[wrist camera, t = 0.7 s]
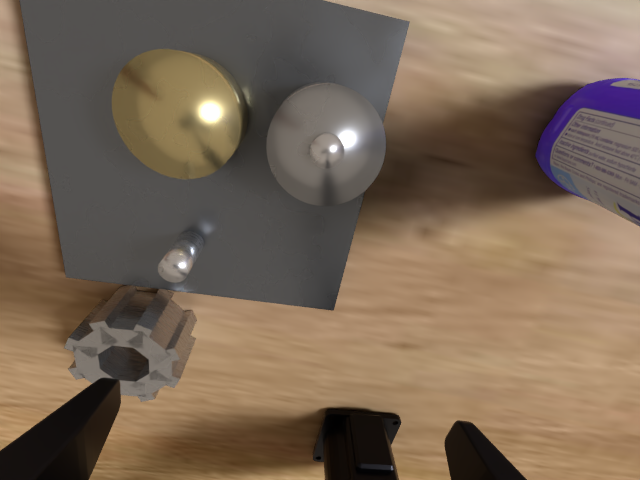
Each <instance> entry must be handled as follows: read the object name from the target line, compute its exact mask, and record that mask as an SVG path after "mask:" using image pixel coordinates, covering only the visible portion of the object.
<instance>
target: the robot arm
mask: <svg viewBox="0 0 640 480" xmlns="http://www.w3.org/2000/svg"><path fill="white" fill-rule="evenodd" d="M120 404H121V391H120V381H119V380H118V379H114V378H106V377H104V378H100V379H98V380H97V381H95V382H94V383H93V384H91V385H90V386H88V387H87V388H86V389H84V390H83V391H82V392H80V393H79V394H78V395H76V396H75V397H73V398H72V399H71V400H69V401H68V402H67V403H65V404H64V405H62V406H61V407H60V408H58V409H57V410H56V411H54V412H53V413H51V414H50V415H49V416H47V417H46V418H45V419H43V420H42V421H41V422H39V423H38V424H36V425H35V426H34V427H32V428H31V429H30V430H28V431H27V432H25V433H24V434H23V435H21V436H20V437H19V438H17V439H16V440H14V441H13V442H12V443H10V444H9V445H8V446H6V447H5V448H4V449H2V450H1V451H0V480H89V478H90V476H91V473H92V471H93V469H94V467H95V464H96V462H97V460H98V457H99V455H100V453H101V450H102V448H103V446H104V444H105V441H106V439H107V437H108V434H109V432H110V430H111V427H112V425H113V423H114V420H115V418H116V416H117V413H118V411H119V408H120ZM400 425H401V420H400V417H399V416H398V415H392V414H381V413H369V412H357V411H345V410H333V409H330V410H327V411H326V412H325V414H324V417H323V421H322V424H321V427H320V431H319V434H318V437H317V441H316V444H315V448H314V451H313V460H314V461H318V462H324V472H325V480H399V478H398V474H397V470H396V465H395V461H394V457H393V453H392V449H391V444H392V442H393V440H394V438H395V435H396V433H397V431H398V429H399V427H400ZM445 451H446V456H447V461H448V466H449V471H450V476H451V480H527V479H526V478H525V477H524V476H523V475H522V474H521V473H520V472H519V471H518V470H517V469H516V468H515V467H514V466H513V465H512V464H511V463H510V462H509V461H508V460H507V459H506V457H505V456H504V455H503V454H502V453H501V452H500V451H499V450H498V449H497V448H496V447H495V446H494V445H493V444H492V443H491V442H490V441H489V440H488V439H487V438H486V437H485V436H484V434H483V433H482V432H481V431H480V430H479V429H478V428H477V427H476V426H475V425H474V424H473V423H471V422H468V421H460V420H459V421H456V422H455V423H454V425H453V426H452V428H451V430H450V431H449V433H448V435H447V436H446V438H445Z"/></svg>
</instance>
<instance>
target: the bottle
mask: <svg viewBox="0 0 640 480" xmlns="http://www.w3.org/2000/svg"><path fill="white" fill-rule="evenodd" d="M535 156H536V158H537V161H538V163H539V165H540V167H541V169H542V170H543V172H544V173H545V174H546V175H547V176H548V177H549V178H550V179H551V180H552V181H553V182H554V183H556V184H557V185H558V186H560V187H561V188H563V189H565V190H566V191H568V192H570V193H572V194H574V195H576V196H579V197H581V198H584V199H587V200H589V201H591V202H593V203H595V204H597V205H600V206H602V207H604V208H606V209H607V210H609V211H611V212H613V213H615V214H617V215H619V216H621V217H623V218H624V219H626V220H628V221H630V222H632V223H634V224H636V225H638V226H640V80H637V79H629V78H615V79H607V80H602V81H597V82H594V83H591V84H587V85H586V86H584V87H583V88H581V89H579V90H578V91H577V92H575V93H574V94H573V95H572V96H571V97H570V98H569V99H568V100H566V101H565V102H564V103H563V105H562V106H561V107H560V108H559V109H558V111H557V112H556V114H555V116H554V117H553V119H552V120H551V121H550V122H549V124H548V125H547V127H546V128H545V130H544V131H543V133H542V135H541V138H540V140H539V143H538V147H537V151H536V155H535Z"/></svg>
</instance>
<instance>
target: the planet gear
mask: <svg viewBox="0 0 640 480" xmlns="http://www.w3.org/2000/svg"><path fill="white" fill-rule="evenodd" d="M172 296H173V293H171V292H169V291H167V290H164V289H159V291H158V292H157V293H151V292H143V291H137V290H136V288H135V286H132V285H127V286H122V287H119V289H118V290H117V291H116V292H115V293H114V295H113V296H112V297H111V298H110V299H109V301H108V302H107V301H104V300H101V301H100V302H99V304H98V305H97V306H96V307H95V308H94V309H93V310H92V312H91V313H90V314H89V315H88V316H87V317H86V318H85V320H84V321H83V322H82V323H81V324H80V325H79V326H78V328H77V329H76V330H75V331H74V332H73V333H72V334H71V336H70V337H69V338H68V340H67V342H66V345H65V347H64V348H65V349H68V350H71V351H73V352H74V357H75V361H74V362H73V363H72V365H71V366H70V367H69V368H68V370H69V371H70V372H71V373H72V375H73V376H74V377H75V379H81V378H85V379H87V380H88V381H90V382H91V383H94V382H95V381H97V380H98V379H100V378H104V377H106V378H114V379H118V380H119V381H120V391H121V395H128V396H138V398H139V399H140V401H141V402H142V401H148V400H153V399H155V398H156V395H157V393H158V391H159V389H160V388H162V387H164V386H165V385H167V386H170V387H173V388H174V387H175V386H176V384H177V383H178V381H179V380H180V378H181V375H182V373H183V370H184V368H185V365H186V363H187V360H188V358H189V355H190V352H191V350H192V347H193V345H194V342H195V340H196V338H194V337H191V336H190V335H191V333H192V330H193V328H194V326H195V323H196V321H197V320H196V318H195V316H194V313H193V311H192V310H190V311H183V310H182V309H181V308H180V307H179V306H178V305H177V304H175V303H174V302H173V301H172V300H171V298H172Z"/></svg>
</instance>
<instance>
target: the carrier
mask: <svg viewBox="0 0 640 480" xmlns="http://www.w3.org/2000/svg"><path fill="white" fill-rule="evenodd" d="M20 6H21V12H22V18H23V24H24V30H25V36H26V42H27V47H28V53H29V59H30V65H31V71H32V77H33V83H34V89H35V95H36V101H37V107H38V113H39V119H40V125H41V131H42V137H43V143H44V149H45V155H46V161H47V167H48V173H49V179H50V185H51V190H52V196H53V202H54V208H55V214H56V220H57V226H58V232H59V238H60V244H61V250H62V256H63V262H64V268H65V274H66V277H68V278H76V279H84V280H92V281H100V282H108V283H116V284H124V285H132V286H140V287H148V288H156V289H164V290H173V291H181V292H189V293H197V294H205V295H213V296H221V297H229V298H237V299H245V300H253V301H261V302H269V303H277V304H286V305H294V306H302V307H310V308H318V309H326V310H334V307H335V303H336V299H337V296H338V292H339V288H340V284H341V280H342V277H343V273H344V269H345V265H346V261H347V258H348V254H349V250H350V246H351V242H352V239H353V235H354V231H355V227H356V223H357V220H358V216H359V212H360V208H361V205H362V201H363V197H364V193H365V190H366V189H367V188H368V187H369V186H370V185H371V184H372V183H373V182H374V180H375V179H376V177H377V175H378V174H379V172H380V170H381V167H382V164H383V162H384V157H385V152H386V136H385V130H384V126H383V121H384V117H385V113H386V110H387V106H388V102H389V98H390V94H391V91H392V87H393V83H394V79H395V76H396V72H397V68H398V64H399V60H400V57H401V53H402V49H403V45H404V41H405V38H406V34H407V30H408V26H409V21H404V20H400V19H396V18H392V17H388V16H384V15H380V14H376V13H372V12H368V11H364V10H360V9H356V8H352V7H348V6H343V5H339V4H335V3H331V2H327V1H323V0H20Z"/></svg>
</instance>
